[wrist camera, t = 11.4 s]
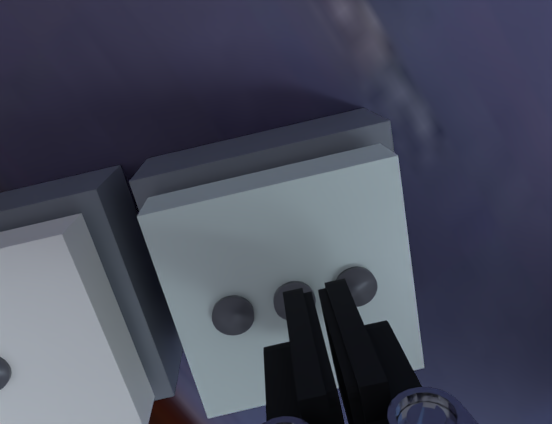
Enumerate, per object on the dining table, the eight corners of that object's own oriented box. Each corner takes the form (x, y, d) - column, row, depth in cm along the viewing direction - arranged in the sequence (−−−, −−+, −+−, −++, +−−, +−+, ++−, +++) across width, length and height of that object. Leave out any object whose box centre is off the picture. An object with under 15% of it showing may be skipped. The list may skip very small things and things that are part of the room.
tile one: (110, 182, 16) (58, 237, 12) (167, 340, 19) (145, 438, 14) (-80, 226, 16) (-207, 299, 12) (3, 379, 19) (-75, 489, 14)
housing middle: (120, 164, 16) (96, 189, 14) (183, 344, 19) (174, 395, 16) (-97, 215, 16) (-166, 250, 14) (-2, 387, 19) (-42, 446, 16)
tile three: (353, 125, 16) (400, 157, 12) (379, 291, 19) (426, 372, 14) (164, 170, 16) (135, 219, 12) (214, 329, 19) (207, 423, 14)
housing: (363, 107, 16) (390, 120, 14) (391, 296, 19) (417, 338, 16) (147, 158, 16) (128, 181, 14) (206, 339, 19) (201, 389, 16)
